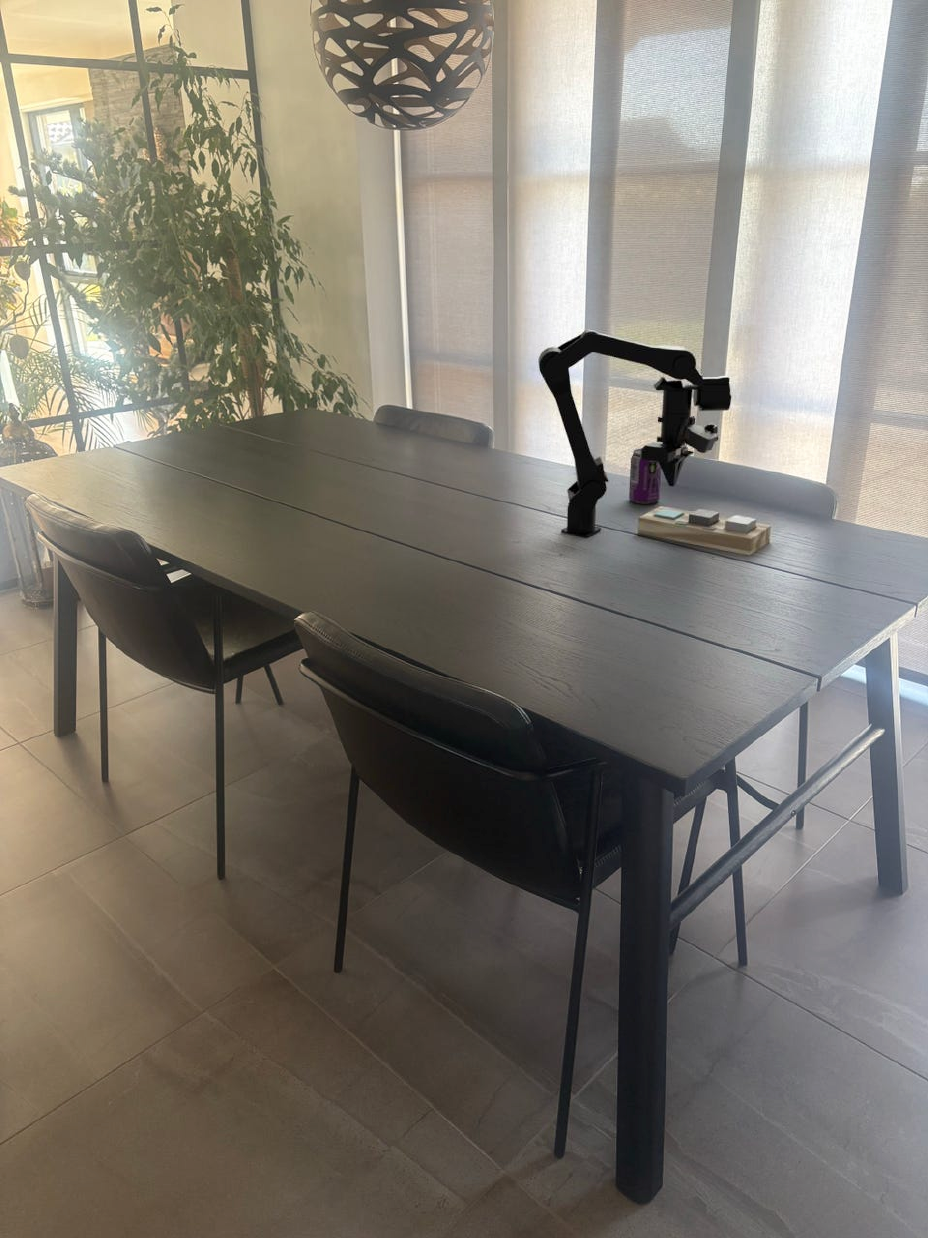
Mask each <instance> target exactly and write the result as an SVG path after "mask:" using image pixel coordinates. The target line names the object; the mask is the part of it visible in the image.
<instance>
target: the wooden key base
mask: <svg viewBox="0 0 928 1238" xmlns="http://www.w3.org/2000/svg"><path fill="white" fill-rule="evenodd" d="M663 509H669V510H675V511H680V512H684V515H683V516H681V517H679V518H678V519H676V520H670V519H665V518H659V517H654V514H655V513H657V512H659V511H661V510H663ZM692 512H693V511H690V510H685V509H679V508H674V507H668V506H663V505H660V506H659V507H656V508H655V509H653V510H651V511H648V512H646V513H645V514H643V515H640V516H639V517H638V519H637V521H638V523H637V525H638V526H637V534H641V535H645V536H650V537H656V538H660V539H665V540H670V541H675V542H682V543H685V544H691V545H695V546H701V547H704V548H705V547H706V548H711V549H715V550H721V551H726V552H731V553H737V554H740V555H745V556H751V555H752V554H754V553H755V552H757V551H758V550H760V549H762V548H763V547H764V546H766V545H767V544H769V542H770V541H771V530H772V525H769V524H764V523H757V522H756V528H755V529H754V530H752V531H751V532H749V533H748V534H746V533H740V532H735V531H729V530H725V521H726V520H727V519H729V518H730V517H724V516H719V522H717V523H716V524H714V525H712V526H710V527H709V526H703V525H697V524H692V523H688V522H689V514H690V513H692Z"/></svg>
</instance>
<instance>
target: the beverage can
mask: <svg viewBox="0 0 928 1238" xmlns="http://www.w3.org/2000/svg"><path fill="white" fill-rule="evenodd" d="M642 448H643V447H641V448H636V449H634V450H633V453H632V455H631V457H630V471H629V491H628V493H629V494H628V499H629V500H631V501H632V502H634V503H635V502H636V503H635V504H639V503H641V504H640V505H650V503H651V504H654V503H656V502H657V501H659V500H660V498H661V495H660V494H661V482H662V481H661V479H662V478H661V477H662V476H661V475H662V469H661V467H660V465H659V463H658V462H657V461H650V460H643V459H640V451H641V449H642Z"/></svg>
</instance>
